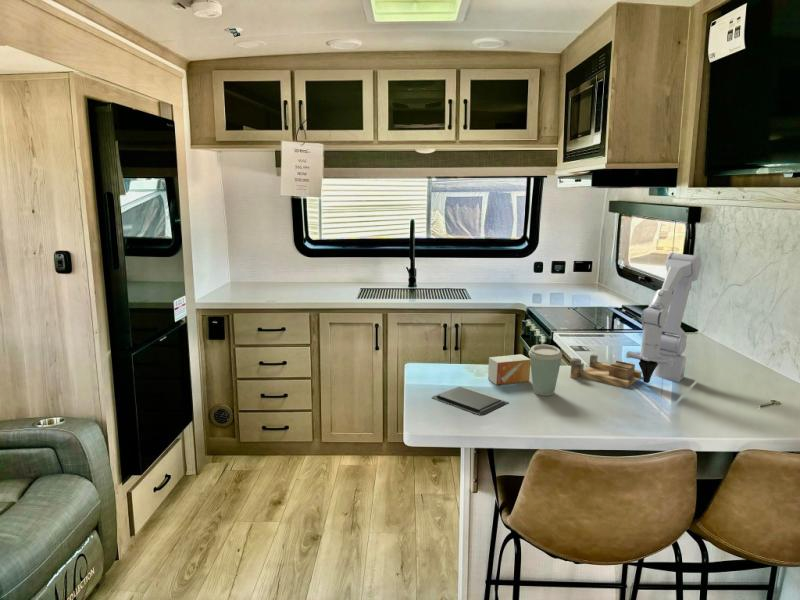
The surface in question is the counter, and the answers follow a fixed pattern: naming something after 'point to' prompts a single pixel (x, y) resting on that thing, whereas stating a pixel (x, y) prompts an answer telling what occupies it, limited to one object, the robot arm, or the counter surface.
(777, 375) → the counter surface
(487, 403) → the dark grey rectangular slab
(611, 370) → the crate
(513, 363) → the small box
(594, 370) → the wooden base
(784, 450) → the counter surface
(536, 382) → the disposable coffee cup
